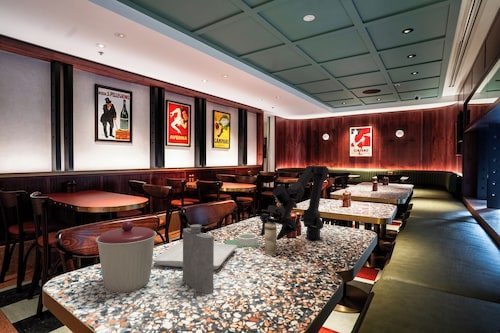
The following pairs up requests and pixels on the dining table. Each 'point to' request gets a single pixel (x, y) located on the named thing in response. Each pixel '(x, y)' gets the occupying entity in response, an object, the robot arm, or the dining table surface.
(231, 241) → the octagonal cup coaster
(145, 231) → the canister
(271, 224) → the tan tapered tumbler
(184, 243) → the hip flask
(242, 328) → the dining table surface
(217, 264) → the square plate
